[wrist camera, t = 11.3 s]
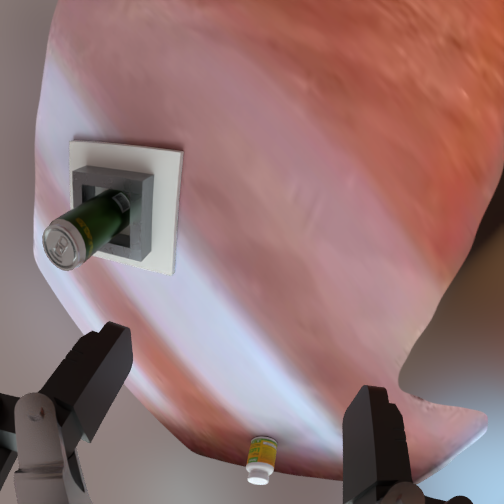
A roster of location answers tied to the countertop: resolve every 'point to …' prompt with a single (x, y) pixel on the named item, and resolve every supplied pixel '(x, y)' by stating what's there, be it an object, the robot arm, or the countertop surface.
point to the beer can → (86, 229)
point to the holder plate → (137, 160)
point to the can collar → (140, 206)
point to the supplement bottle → (261, 459)
